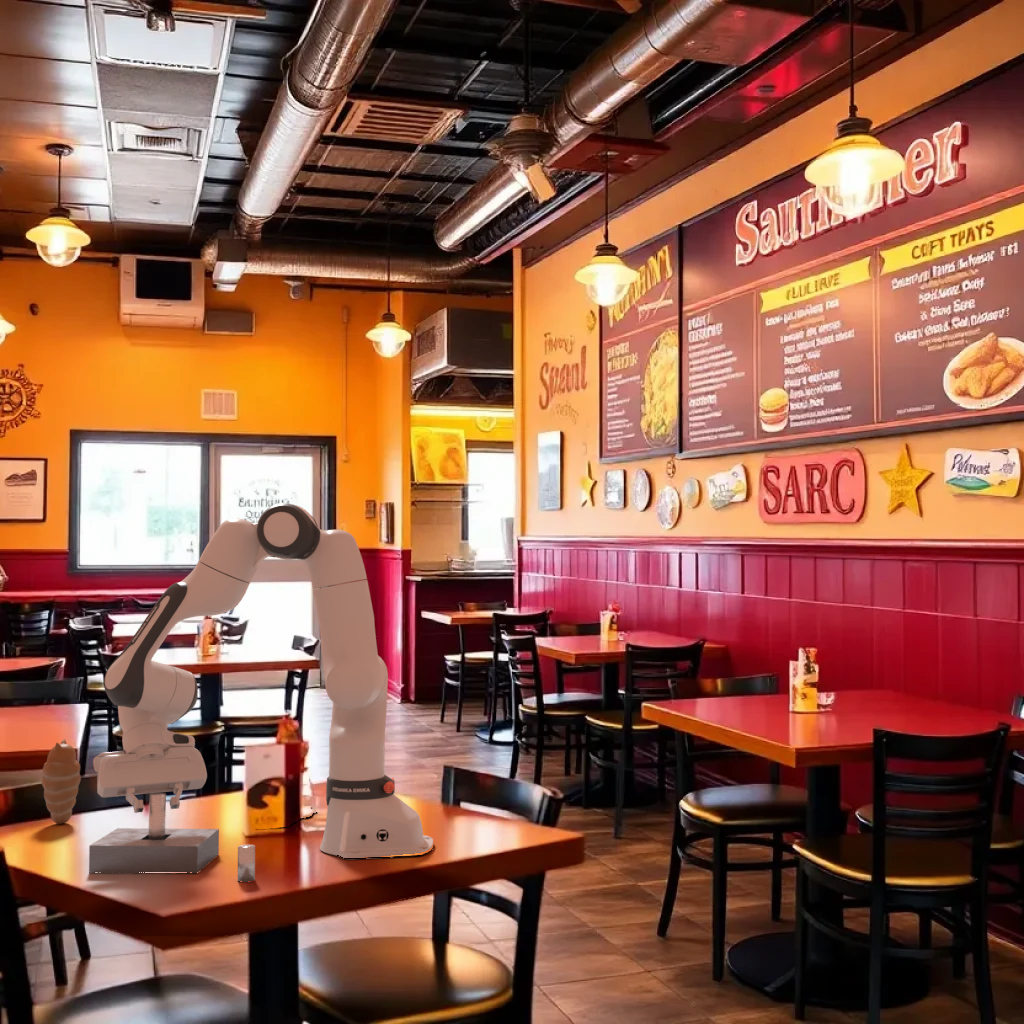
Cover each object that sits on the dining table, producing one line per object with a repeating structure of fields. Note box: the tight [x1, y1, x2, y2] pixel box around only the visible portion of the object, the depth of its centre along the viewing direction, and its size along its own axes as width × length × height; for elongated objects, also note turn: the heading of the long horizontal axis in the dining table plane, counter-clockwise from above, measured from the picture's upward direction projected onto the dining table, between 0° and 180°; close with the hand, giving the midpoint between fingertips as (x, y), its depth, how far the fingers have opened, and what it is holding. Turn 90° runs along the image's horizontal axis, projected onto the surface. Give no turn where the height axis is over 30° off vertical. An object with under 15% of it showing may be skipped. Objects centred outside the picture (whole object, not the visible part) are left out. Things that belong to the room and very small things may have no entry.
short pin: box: [237, 844, 256, 883], centre depth 208 cm, size 3×3×6 cm
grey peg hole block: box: [88, 827, 220, 874], centre depth 219 cm, size 20×14×5 cm
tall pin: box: [148, 792, 167, 840], centre depth 219 cm, size 3×3×13 cm
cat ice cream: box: [41, 739, 82, 825], centre depth 253 cm, size 9×8×18 cm
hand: (157, 808), depth 219 cm, fingers open, 5 cm apart
